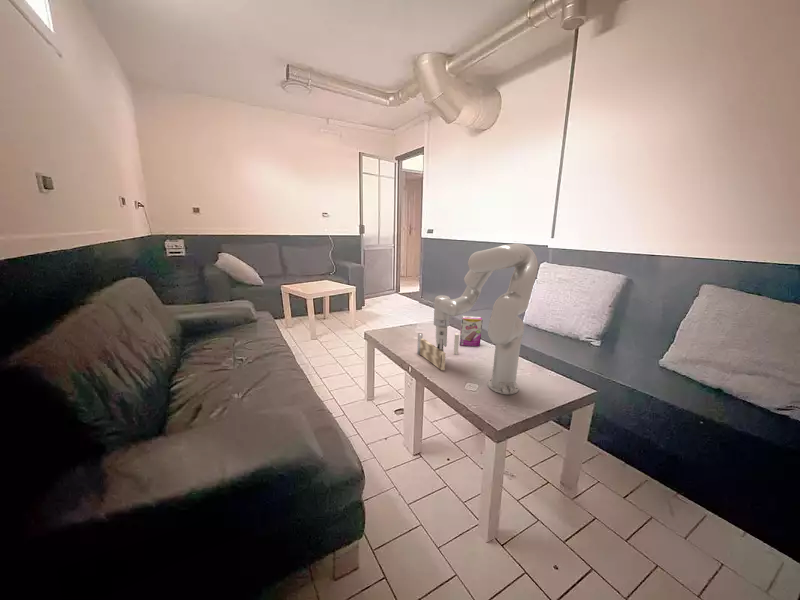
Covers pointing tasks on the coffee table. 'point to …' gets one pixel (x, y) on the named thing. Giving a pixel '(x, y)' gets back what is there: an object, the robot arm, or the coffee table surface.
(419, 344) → the hinge post
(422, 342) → the gate
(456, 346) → the post
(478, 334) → the candy bar box
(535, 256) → the robot arm
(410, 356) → the coffee table surface
